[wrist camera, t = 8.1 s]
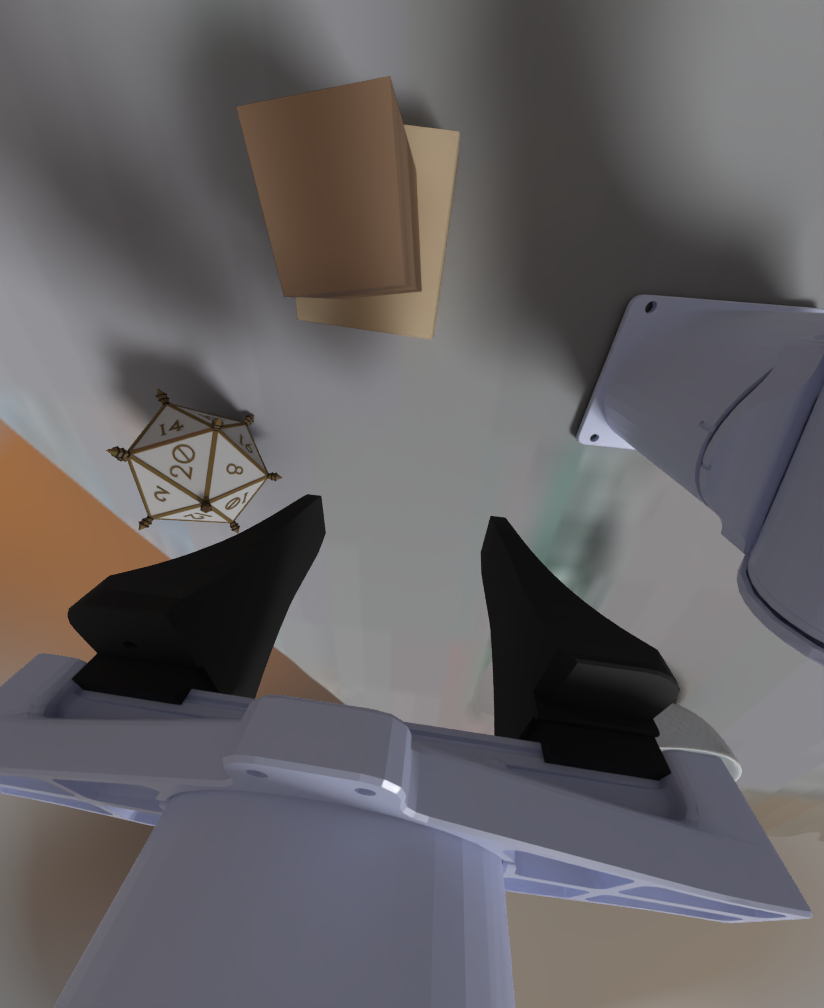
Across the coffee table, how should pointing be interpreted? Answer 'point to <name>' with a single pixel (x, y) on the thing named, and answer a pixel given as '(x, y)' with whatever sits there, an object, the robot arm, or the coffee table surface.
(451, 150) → the oak base block
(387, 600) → the coffee table surface
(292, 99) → the walnut block
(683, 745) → the cereal bowl
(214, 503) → the game die
